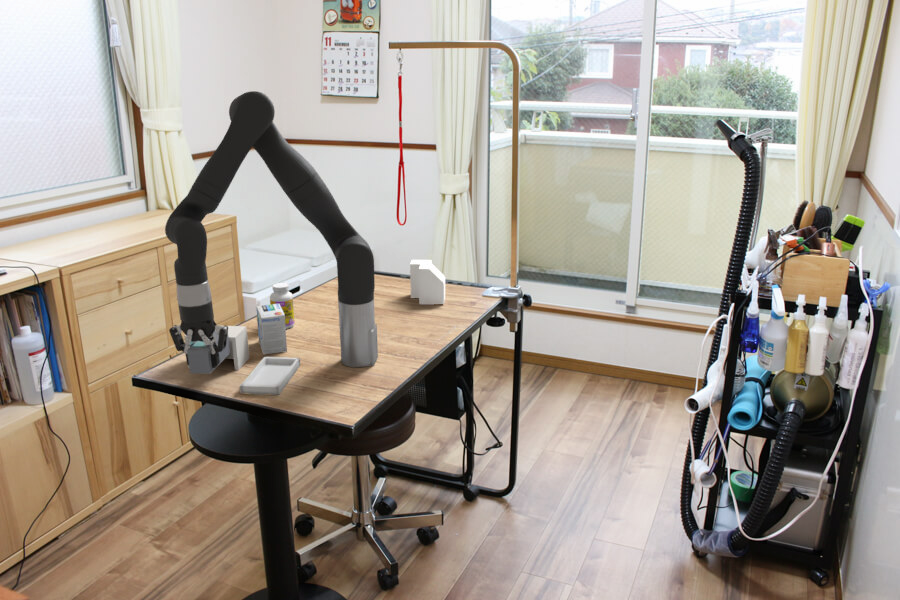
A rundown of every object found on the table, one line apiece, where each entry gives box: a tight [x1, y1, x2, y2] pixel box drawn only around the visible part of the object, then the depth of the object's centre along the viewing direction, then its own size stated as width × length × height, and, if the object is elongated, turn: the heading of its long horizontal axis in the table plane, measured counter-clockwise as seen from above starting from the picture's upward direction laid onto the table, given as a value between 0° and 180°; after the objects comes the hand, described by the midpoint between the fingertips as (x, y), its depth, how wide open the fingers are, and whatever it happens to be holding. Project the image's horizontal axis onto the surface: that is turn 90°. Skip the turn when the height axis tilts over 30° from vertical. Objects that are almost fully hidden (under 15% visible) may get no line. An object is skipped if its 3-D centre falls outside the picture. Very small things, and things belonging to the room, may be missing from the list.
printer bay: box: [183, 325, 250, 371], centre depth 195 cm, size 14×8×9 cm, turn 85°
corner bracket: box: [409, 259, 446, 305], centre depth 244 cm, size 11×11×12 cm
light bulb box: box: [255, 304, 288, 355], centre depth 206 cm, size 11×7×11 cm, turn 21°
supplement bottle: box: [269, 282, 295, 330], centre depth 221 cm, size 7×7×13 cm
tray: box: [239, 356, 301, 396], centre depth 187 cm, size 10×18×2 cm, turn 175°
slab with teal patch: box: [187, 330, 230, 375], centre depth 183 cm, size 5×13×6 cm, turn 175°
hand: (203, 366), depth 179 cm, fingers closed on slab with teal patch, 5 cm apart
